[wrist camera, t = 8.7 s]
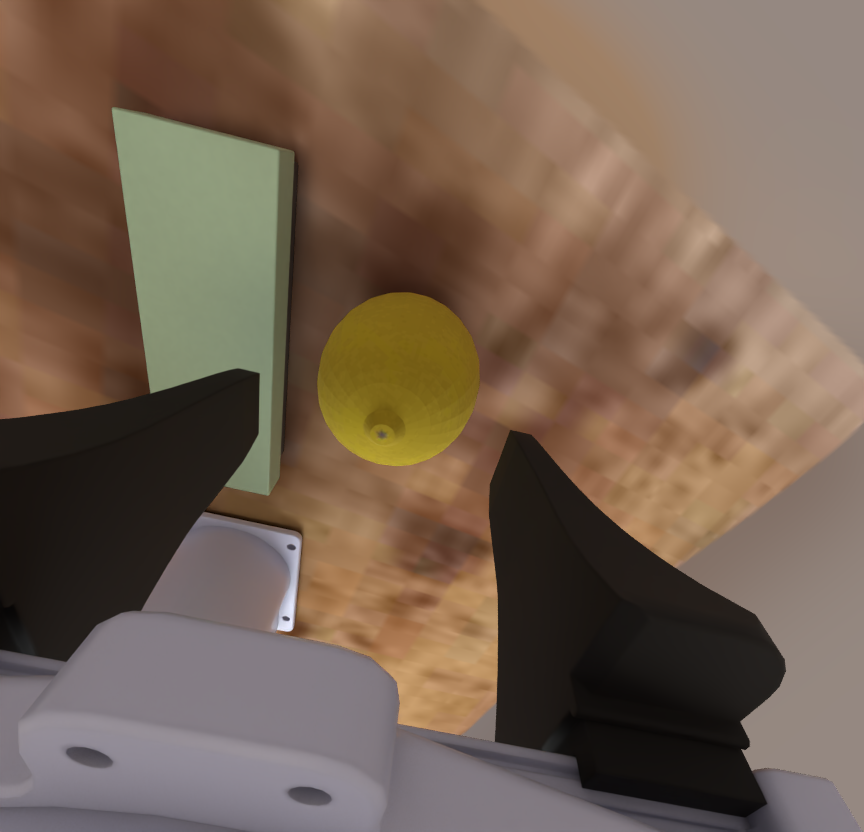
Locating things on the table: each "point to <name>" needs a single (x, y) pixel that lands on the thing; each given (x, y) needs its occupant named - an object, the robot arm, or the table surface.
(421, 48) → the table surface
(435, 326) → the lemon
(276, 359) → the green block
